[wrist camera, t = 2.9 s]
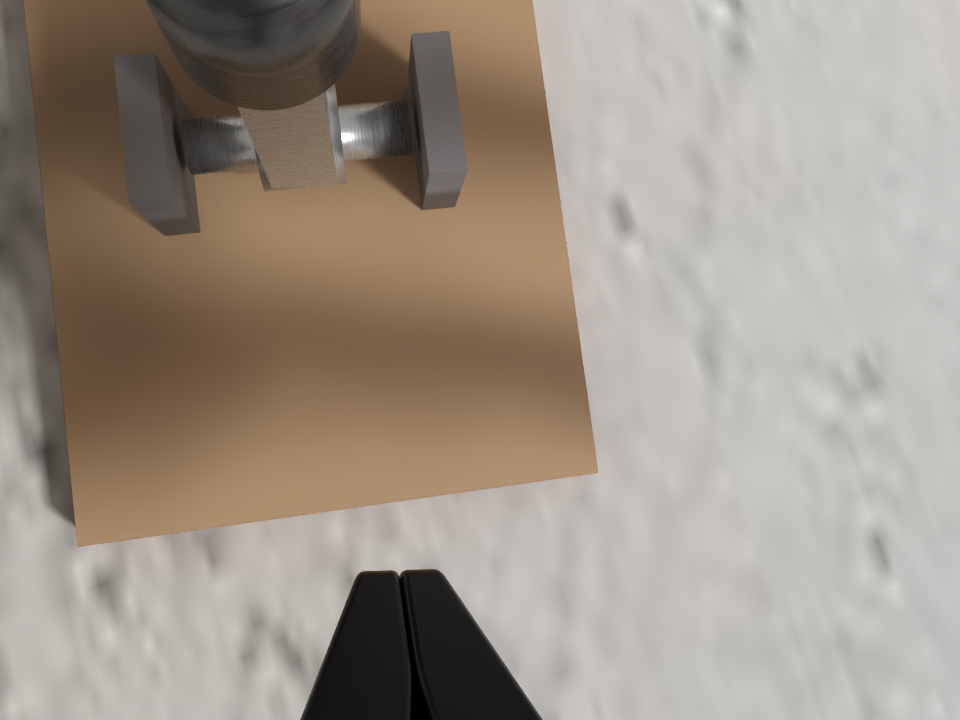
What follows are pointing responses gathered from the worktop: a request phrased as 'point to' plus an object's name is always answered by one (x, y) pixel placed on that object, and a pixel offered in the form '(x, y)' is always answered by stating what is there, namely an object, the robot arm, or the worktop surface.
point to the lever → (278, 89)
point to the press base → (305, 281)
